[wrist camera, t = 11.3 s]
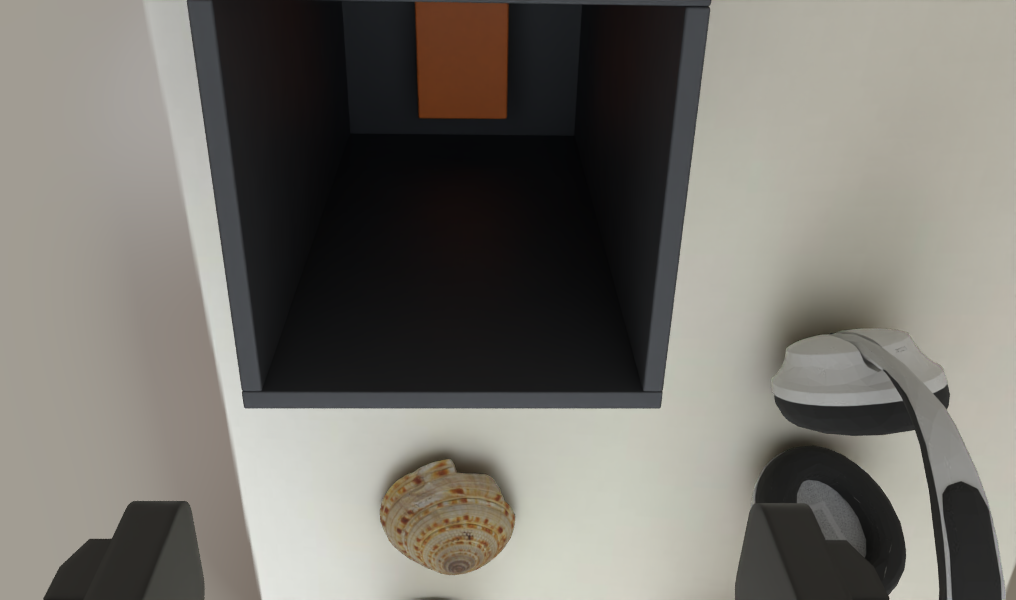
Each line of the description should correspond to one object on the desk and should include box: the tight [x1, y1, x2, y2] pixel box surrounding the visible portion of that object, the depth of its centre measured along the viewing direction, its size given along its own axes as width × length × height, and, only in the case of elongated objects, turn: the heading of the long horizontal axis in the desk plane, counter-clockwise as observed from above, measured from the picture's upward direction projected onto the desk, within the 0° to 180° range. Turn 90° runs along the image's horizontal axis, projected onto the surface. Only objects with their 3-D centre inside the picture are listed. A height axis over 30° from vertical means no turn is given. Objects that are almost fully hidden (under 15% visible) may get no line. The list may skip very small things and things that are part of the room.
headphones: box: [751, 328, 1006, 600], centre depth 48 cm, size 19×8×20 cm, turn 1°
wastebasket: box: [187, 0, 711, 408], centre depth 34 cm, size 12×12×23 cm
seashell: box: [380, 459, 515, 575], centre depth 58 cm, size 8×6×8 cm
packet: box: [415, 2, 509, 119], centre depth 42 cm, size 7×4×4 cm, turn 179°
